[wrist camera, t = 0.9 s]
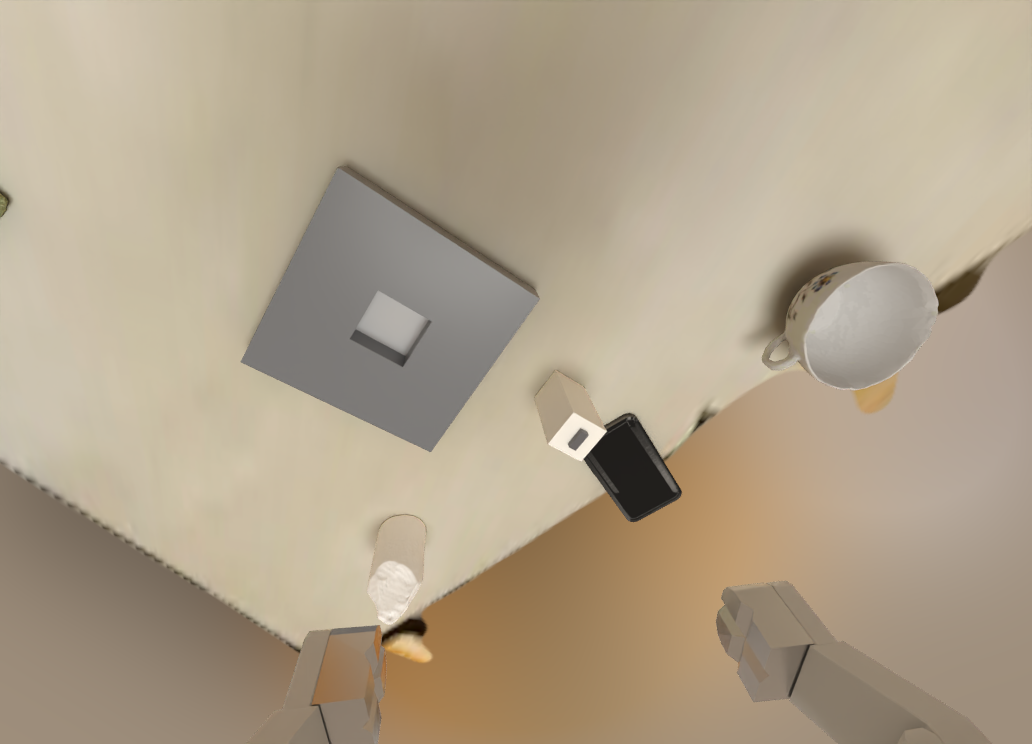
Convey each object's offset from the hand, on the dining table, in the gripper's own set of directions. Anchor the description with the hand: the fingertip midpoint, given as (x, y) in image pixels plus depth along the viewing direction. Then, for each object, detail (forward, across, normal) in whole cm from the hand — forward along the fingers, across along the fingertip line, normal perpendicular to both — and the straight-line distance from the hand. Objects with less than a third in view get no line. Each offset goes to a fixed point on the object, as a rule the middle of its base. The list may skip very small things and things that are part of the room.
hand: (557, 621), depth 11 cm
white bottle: (+39, +11, +32) cm, 52 cm away
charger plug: (+38, -8, +14) cm, 41 cm away
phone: (+39, -17, +25) cm, 49 cm away
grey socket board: (+38, +9, +5) cm, 39 cm away
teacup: (+38, -35, +6) cm, 52 cm away
